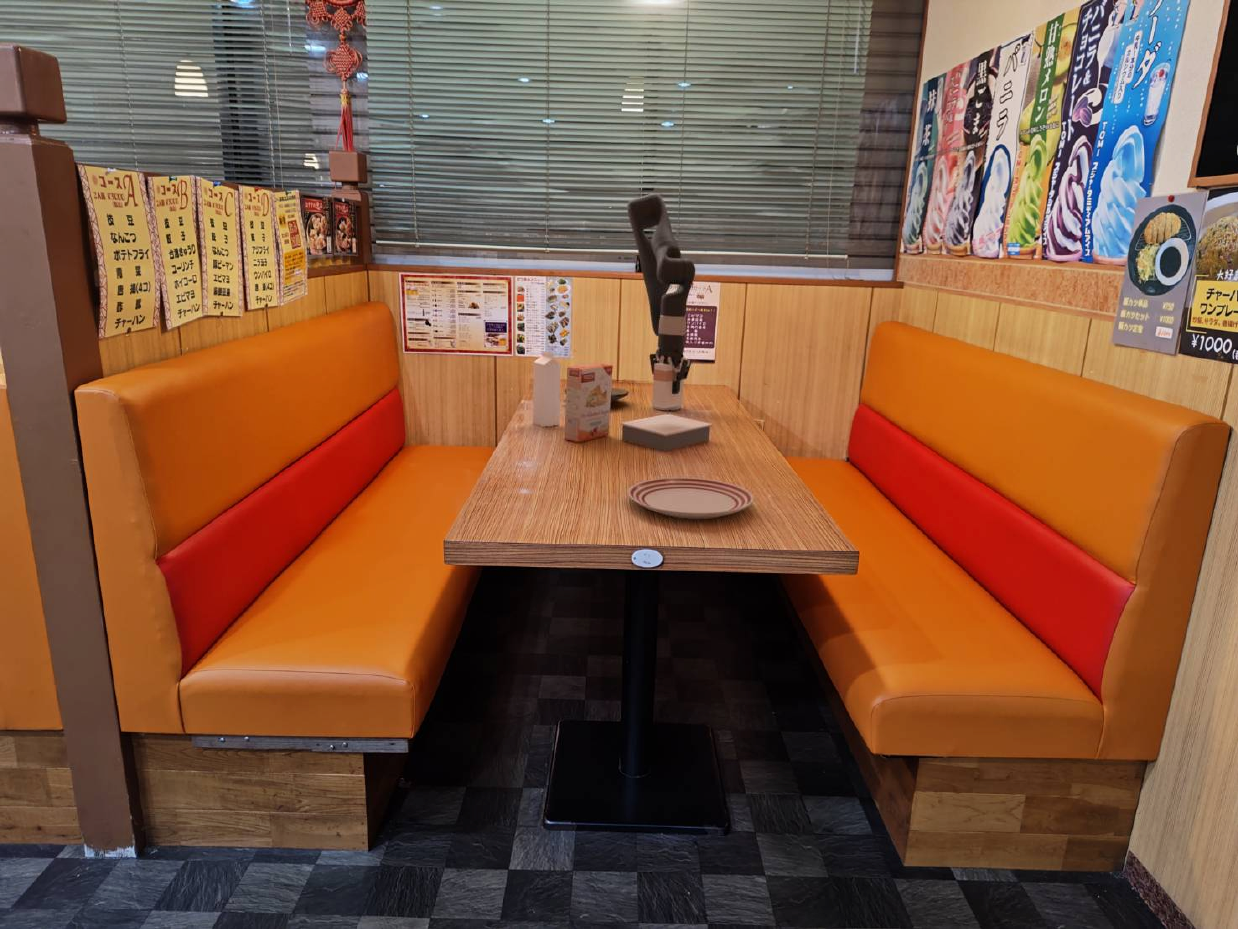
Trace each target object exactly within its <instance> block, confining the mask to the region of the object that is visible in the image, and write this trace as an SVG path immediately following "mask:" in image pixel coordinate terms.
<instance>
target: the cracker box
mask: <svg viewBox="0 0 1238 929" xmlns="http://www.w3.org/2000/svg"><path fill="white" fill-rule="evenodd" d="M613 368H614V367H613V365H611V364H607V363H599V362H596V363H588V364H580V365H574V366H567V368H566V371H567V372H566V388H565V389H566V394H565V414H564V415H565V418H564V437H563V438H564V440H567V441H570V442H575V443H582V441H583V442H586V441H591V440H594V439H598V437H599V438H603V437H602V436H604V437H607V435H608V436H609V434H610V433H609V432H610V419H611V418H610V417H611V416H610V415H611V403H612V402H611V388H612V386H613V384H612V382H613Z"/></svg>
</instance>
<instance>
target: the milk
mask: <svg viewBox="0 0 1238 929" xmlns="http://www.w3.org/2000/svg"><path fill="white" fill-rule="evenodd" d="M561 366H562V364H561V362H559V361H557V360H556V359H554V353H553V352H548V351H543V350H542V351H541V356H540V357H539V358H537V359H536V360H534V361H533V377H532V380H533V386H532V424H534V425H537V426H539V425H540V426H539V427H541V428H545V427H546V426H547V427H553V425H556V426H560V416H561V415H560V414H561V413H560V411H561V410H560V409H561V408H560V407H561V374H562V372H561V371H562V369H561Z"/></svg>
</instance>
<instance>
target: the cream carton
mask: <svg viewBox="0 0 1238 929" xmlns="http://www.w3.org/2000/svg"><path fill="white" fill-rule="evenodd" d="M680 364H681V363H680ZM681 366H682V365H681ZM678 368H679V366H678V367H677V368H675V370H677V369H678ZM652 377H653V379H652V380H653V381H652V382H653V384H652V386H653V387H652V400H651V401H652V403H651V407H653V406H655V407H660V408H669V407H675V406H681V407H682V406H683V397H684V382H685V381H684V380H685V379H683V380H681V381H680V391H679V393H678V394H672V382H673V381H674V380H673V373H672V365H669V364H665V363H664V364H662V363H656V364H654V375H653V376H652Z"/></svg>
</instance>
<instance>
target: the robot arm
mask: <svg viewBox="0 0 1238 929" xmlns="http://www.w3.org/2000/svg"><path fill="white" fill-rule="evenodd" d="M626 207H627V208H626V210H627V215H628V218H629V222H630V226H631V229H632V234H633V236H634V240H635V243H636V247H637V251H638V252H637V253H638V257H639V260H640V261H639V262H640V268H641V272H642V277H643V281H644V284H645V285H644V286H645V290H646V294H647V298H648V303H649V312H650V320H651V325H652V331H653V333H654V335H655V336H656V337H657V349H656V351H655V353H650V354H649V360H650V367H651V368H650V369H651V374H652V375H653V376H654V364H656V363H662V364H664V363H665V364H669V365H672V373H673V380H674V381H673V382H672V394H678V393H679V391H680V381H681V380H683V379H684V380H687V378H688V375H689V372H690V369H691V365H692V359H691V358H688V359H687V357H685V355H684V350H685V344H686V334H687V326H688V325H687V324H688V320H687V304H688V302H687V301H688V298H689V296H690V291H691V288H692V285H693V282H694V279H695V276H696V267H695V263H694V262H693V261H692V260H691V259H689V258H682V254H681V249H680V247H679V245H678V243H677V240H676V238H675V236H674V234H673V233H674V232H673V230H672V229H673V228H672V224H671V221H670V218H669V213H668V211H667V207H666V205H665V202H664V199H663V198H662V196H661V195H660V194H659V193H657V192H655V193H649V194H647V195H642V196H639V197H636V198H632V199H631V200H629V201H627V206H626ZM653 227H656V228H655V231H654V233H653V235H652V238H651V239H650V238H649V237H648V235H647V234H646V233H645V231H644V230H646V229H650V228H653ZM671 286H678V287H677V289H676V290H674V292H669V293H668V291H669V289H670V288H671ZM680 363H681V364H680ZM681 365H682V366H681ZM678 366H679V368H678V369H677V370H675V368H677V367H678ZM652 408H653V409H655V410H659V411H669V410H671V411H677V410H679V409H681V408H682V405H681V406H675V407H669V408H660V407H655V406H652Z"/></svg>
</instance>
